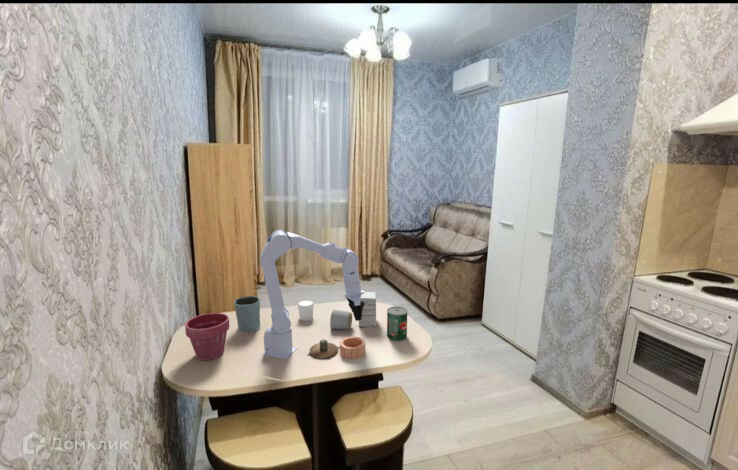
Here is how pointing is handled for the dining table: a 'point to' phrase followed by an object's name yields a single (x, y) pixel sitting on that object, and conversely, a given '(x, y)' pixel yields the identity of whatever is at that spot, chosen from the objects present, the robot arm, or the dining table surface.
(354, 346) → the terracotta bowl
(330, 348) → the walnut lid
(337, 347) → the charcoal mat
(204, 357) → the plant pot
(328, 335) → the dining table surface
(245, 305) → the teal cup
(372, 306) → the supplement box
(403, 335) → the canned tomato
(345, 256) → the robot arm
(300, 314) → the shot glass
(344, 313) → the ceramic mug
